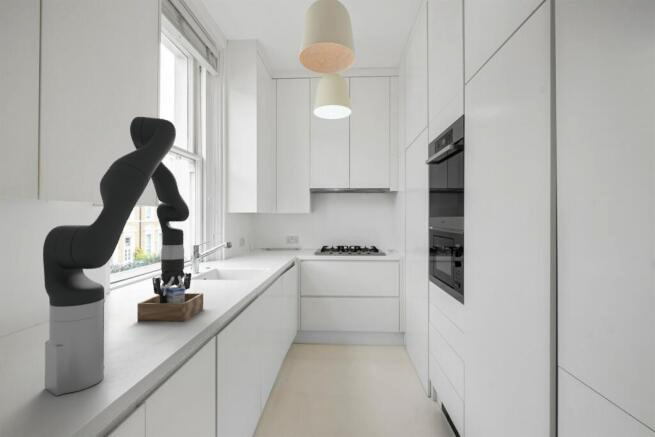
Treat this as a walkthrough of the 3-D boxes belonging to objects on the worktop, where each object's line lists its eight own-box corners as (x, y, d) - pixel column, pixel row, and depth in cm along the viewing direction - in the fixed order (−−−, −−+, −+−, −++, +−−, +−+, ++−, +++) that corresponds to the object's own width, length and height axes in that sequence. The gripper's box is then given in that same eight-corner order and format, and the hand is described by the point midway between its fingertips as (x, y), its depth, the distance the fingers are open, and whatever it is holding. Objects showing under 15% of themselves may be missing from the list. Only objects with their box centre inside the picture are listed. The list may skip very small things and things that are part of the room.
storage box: (184, 321, 110) (184, 304, 110) (137, 321, 110) (137, 303, 111) (203, 308, 126) (203, 293, 126) (162, 308, 126) (162, 293, 127)
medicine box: (160, 311, 119) (160, 287, 119) (171, 308, 122) (171, 285, 122) (173, 315, 114) (173, 290, 114) (185, 312, 118) (185, 288, 118)
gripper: (159, 260, 110) (159, 309, 110) (196, 256, 123) (196, 300, 122) (147, 258, 114) (147, 306, 114) (184, 254, 127) (184, 298, 126)
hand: (172, 303), depth 118 cm, fingers open, 6 cm apart
